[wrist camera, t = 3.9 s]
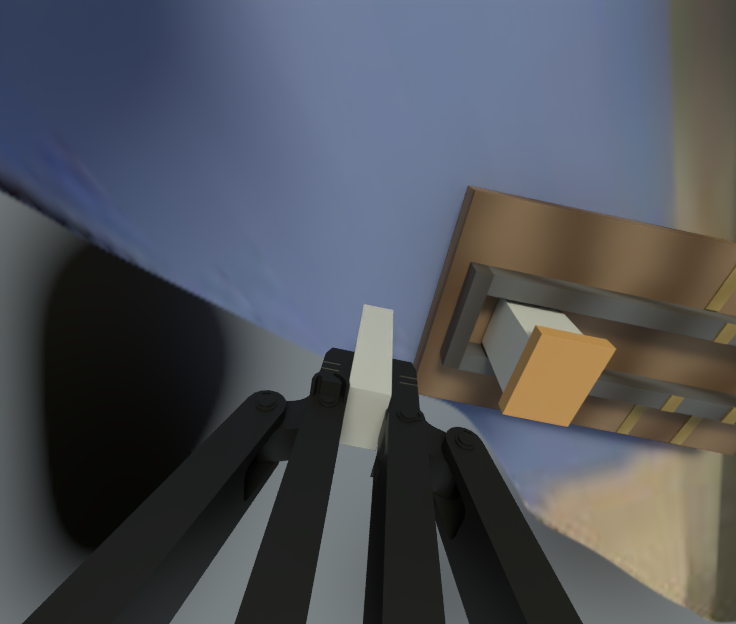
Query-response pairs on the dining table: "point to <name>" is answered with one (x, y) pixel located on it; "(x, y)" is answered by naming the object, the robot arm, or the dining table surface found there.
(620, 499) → the dining table surface
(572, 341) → the fader knob
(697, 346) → the wooden tray
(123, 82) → the dining table surface
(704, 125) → the dining table surface
